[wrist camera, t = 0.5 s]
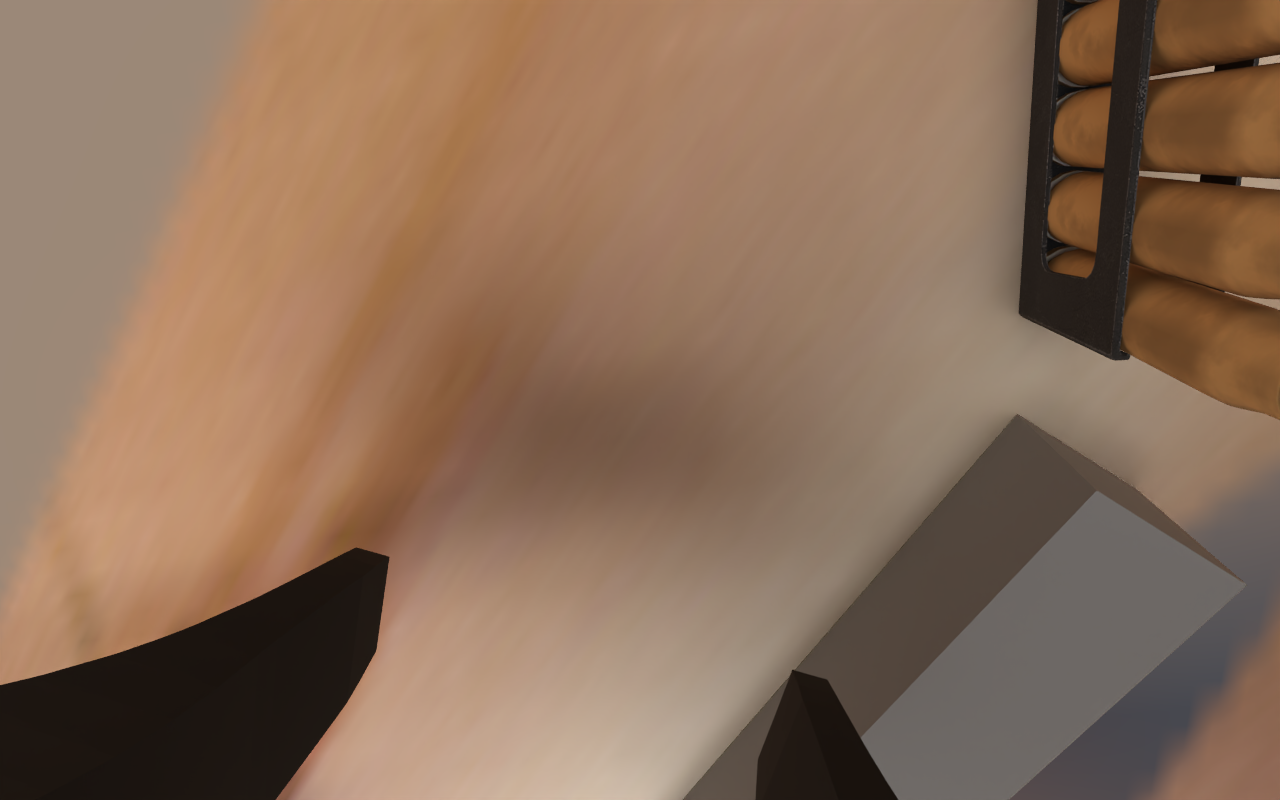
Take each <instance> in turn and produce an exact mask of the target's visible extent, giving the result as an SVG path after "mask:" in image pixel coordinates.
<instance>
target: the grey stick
mask: <svg viewBox="0 0 1280 800" xmlns="http://www.w3.org/2000/svg"><path fill="white" fill-rule="evenodd" d="M1246 586H1247V585H1246V584H1245V583H1244V582H1243V581H1242V580H1241V579H1240V578H1238V577H1237V576H1236V575H1235V574H1234V573H1233V572H1231V571H1230V570H1229V569H1228V568H1227V567H1226V566H1224V565H1223V564H1222V563H1221V562H1220V561H1219V560H1218V559H1216V558H1215V557H1214V556H1213V555H1212V554H1211V553H1209V552H1208V551H1207V550H1206V549H1205V548H1204V547H1202V546H1201V545H1200V544H1199V543H1198V542H1197V541H1196V540H1194V539H1193V538H1192V537H1191V536H1190V535H1189V534H1187V533H1186V532H1185V531H1184V530H1183V529H1182V528H1180V527H1179V526H1178V525H1177V524H1176V523H1175V522H1174V521H1172V520H1171V519H1170V518H1169V517H1168V516H1167V515H1165V514H1164V513H1163V512H1162V511H1161V510H1160V509H1158V508H1157V507H1156V506H1155V505H1154V504H1153V503H1152V502H1150V501H1149V500H1148V499H1147V498H1146V497H1145V496H1143V495H1142V494H1141V493H1140V492H1139V491H1138V490H1136V489H1135V488H1133V487H1132V486H1130V485H1129V484H1127V483H1126V482H1124V481H1122V480H1121V479H1119V478H1118V477H1116V476H1115V475H1113V474H1111V473H1110V472H1108V471H1107V470H1105V469H1103V468H1102V467H1100V466H1099V465H1097V464H1096V463H1094V462H1092V461H1091V460H1089V459H1088V458H1086V457H1084V456H1083V455H1081V454H1080V453H1078V452H1077V451H1075V450H1073V449H1072V448H1070V447H1069V446H1067V445H1066V444H1064V443H1062V442H1061V441H1059V440H1058V439H1056V438H1054V437H1053V436H1051V435H1050V434H1048V433H1047V432H1045V431H1043V430H1042V429H1040V428H1039V427H1037V426H1035V425H1034V424H1032V423H1031V422H1029V421H1028V420H1026V419H1024V418H1023V417H1021V416H1020V415H1018V414H1017V415H1016V416H1015V417H1014V418H1013V420H1012V421H1011V422H1010V423H1009V424H1008V425H1007V426H1006V428H1005V429H1004V430H1003V431H1002V432H1001V433H1000V435H999V436H998V437H997V438H996V439H995V440H994V441H993V443H992V444H991V445H990V446H989V447H988V448H987V450H986V451H985V452H984V453H983V454H982V455H981V456H980V458H979V459H978V460H977V461H976V462H975V463H974V465H973V466H972V467H971V468H970V469H969V470H968V471H967V473H966V474H965V475H964V476H963V477H962V478H961V479H960V481H959V482H958V483H957V484H956V485H955V486H954V488H953V489H952V490H951V491H950V492H949V493H948V494H947V496H946V497H945V498H944V499H943V500H942V501H941V503H940V504H939V505H938V506H937V507H936V508H935V509H934V511H933V512H932V513H931V514H930V515H929V516H928V518H927V519H926V520H925V521H924V522H923V523H922V524H921V526H920V527H919V528H918V529H917V530H916V531H915V533H914V534H913V535H912V536H911V537H910V538H909V539H908V541H907V542H906V543H905V544H904V545H903V546H902V547H901V549H900V550H899V551H898V552H897V553H896V554H895V556H894V557H893V558H892V559H891V560H890V561H889V562H888V564H887V565H886V566H885V567H884V568H883V569H882V571H881V572H880V573H879V574H878V575H877V576H876V577H875V579H874V580H873V581H872V582H871V583H870V584H869V586H868V587H867V588H866V589H865V590H864V591H863V592H862V594H861V595H860V596H859V597H858V598H857V599H856V601H855V602H854V603H853V604H852V605H851V606H850V607H849V609H848V610H847V611H846V612H845V613H844V614H843V615H842V617H841V618H840V619H839V620H838V621H837V622H836V624H835V625H834V626H833V627H832V628H831V629H830V630H829V632H828V633H827V634H826V635H825V636H824V637H823V639H822V640H821V641H820V642H819V643H818V644H817V645H816V647H815V648H814V649H813V650H812V651H811V652H810V654H809V655H808V656H807V657H806V658H805V659H804V660H803V662H802V663H801V664H800V665H799V666H798V667H797V668H796V670H795V671H799V672H802V673H806V674H809V675H813V676H817V677H820V678H824V679H827V680H828V681H829V683H830V685H831V687H832V688H833V690H834V692H835V694H836V695H837V697H838V699H839V701H840V702H841V704H842V706H843V708H844V710H845V711H846V713H847V715H848V717H849V718H850V720H851V722H852V724H853V725H854V727H855V729H856V731H857V732H858V734H859V736H860V738H861V739H862V741H863V743H864V745H865V746H866V748H867V750H868V751H869V753H870V755H871V757H872V758H873V760H874V761H875V763H876V765H877V766H878V768H879V770H880V771H881V773H882V775H883V776H884V778H885V779H886V781H887V783H888V784H889V786H890V787H891V789H892V790H893V792H894V794H895V795H896V797H897V798H898V800H1009V799H1010V798H1011V797H1012V796H1014V795H1015V794H1016V793H1017V792H1018V791H1019V790H1020V789H1021V788H1023V787H1024V786H1025V785H1026V784H1027V783H1028V782H1029V781H1030V780H1031V779H1032V778H1034V777H1035V776H1036V775H1037V774H1038V773H1039V772H1040V771H1041V770H1043V769H1044V768H1045V767H1046V766H1047V765H1048V764H1049V763H1050V762H1051V761H1052V760H1054V759H1055V758H1056V757H1057V756H1058V755H1059V754H1060V753H1061V752H1062V751H1064V749H1066V748H1067V747H1068V746H1069V745H1070V744H1071V743H1072V742H1074V741H1075V740H1076V739H1077V738H1078V737H1079V736H1080V735H1081V734H1082V733H1083V732H1085V731H1086V730H1087V729H1088V728H1089V727H1090V726H1091V725H1092V724H1093V723H1095V722H1096V721H1097V720H1098V719H1099V718H1100V717H1101V716H1102V715H1103V714H1105V713H1106V712H1107V711H1108V710H1109V709H1110V708H1111V707H1112V706H1114V705H1115V704H1116V703H1117V702H1118V701H1119V700H1120V699H1121V698H1122V697H1123V696H1124V695H1126V694H1127V693H1128V692H1129V691H1130V690H1131V689H1132V688H1133V687H1135V686H1136V685H1137V684H1138V683H1139V682H1140V681H1141V680H1142V679H1144V678H1145V677H1146V676H1147V675H1148V674H1149V673H1150V672H1151V671H1152V670H1154V669H1155V668H1156V667H1157V666H1158V665H1159V664H1160V663H1161V662H1162V661H1163V660H1165V659H1166V658H1167V657H1168V656H1169V655H1170V654H1171V653H1172V652H1173V651H1175V650H1176V649H1177V648H1178V647H1179V646H1180V645H1181V644H1182V643H1183V642H1185V641H1186V640H1187V639H1188V638H1189V637H1190V636H1191V635H1192V634H1193V633H1194V632H1195V631H1197V629H1199V628H1200V627H1201V626H1202V625H1203V624H1204V623H1206V622H1207V621H1208V620H1209V619H1210V618H1211V617H1212V616H1213V615H1215V614H1216V613H1217V612H1218V611H1219V610H1220V609H1221V608H1222V607H1223V606H1224V605H1226V604H1227V603H1228V602H1229V601H1230V600H1231V599H1232V598H1233V597H1235V596H1236V595H1237V594H1238V593H1239V592H1240V591H1241V590H1242V589H1243V588H1244V587H1246ZM788 680H789V678H788V679H787V680H786V681H785V682H784V683H783V685H782V686H781V687H780V688H779V689H778V690H777V692H776V693H775V694H774V695H773V696H772V697H771V698H770V700H769V701H768V702H767V703H766V704H765V705H764V707H763V708H762V709H761V710H760V711H759V712H758V713H757V715H756V716H755V717H754V718H753V719H752V720H751V722H750V723H749V724H748V725H747V726H746V727H745V728H744V730H743V731H742V732H741V733H740V734H739V735H738V736H737V738H736V739H735V740H734V741H733V742H732V743H731V745H730V746H729V747H728V748H727V749H726V750H725V751H724V753H723V754H722V755H721V756H720V757H719V758H718V760H717V761H716V762H715V763H714V764H713V765H712V766H711V768H710V769H709V770H708V771H707V772H706V773H705V775H704V776H703V777H702V778H701V779H700V780H699V781H698V783H697V784H696V785H695V786H694V787H693V788H692V790H691V791H690V792H689V793H688V794H687V795H686V796H685V798H684V799H683V800H755V799H756V780H757V763H758V757H759V755H760V752H761V750H762V747H763V744H764V742H765V739H766V737H767V734H768V732H769V729H770V726H771V724H772V721H773V719H774V716H775V714H776V711H777V708H778V706H779V703H780V701H781V698H782V695H783V693H784V690H785V688H786V685H787V683H788Z"/></svg>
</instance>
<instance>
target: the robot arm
mask: <svg viewBox="0 0 1280 800" xmlns="http://www.w3.org/2000/svg"><path fill="white" fill-rule="evenodd" d="M388 563H389V557H388V556H385V555H381V554H378V553H374V552H370V551H367V550H363V549H360V548H354V549H352V550H350V551H348V552H346V553H344V554H342V555H340V556H338V557H336V558H334V559H332V560H330V561H328V562H326V563H324V564H322V565H321V566H319V567H317V568H315V569H313V570H311V571H309V572H307V573H305V574H303V575H301V576H299V577H297V578H295V579H293V580H291V581H289V582H287V583H285V584H283V585H281V586H279V587H277V588H275V589H273V590H271V591H269V592H267V593H265V594H263V595H261V596H259V597H257V598H255V599H253V600H251V601H248V602H246V603H244V604H242V605H239V606H237V607H235V608H233V609H230V610H228V611H226V612H223V613H221V614H219V615H217V616H214V617H212V618H210V619H208V620H205V621H203V622H201V623H199V624H196V625H194V626H191V627H189V628H186V629H184V630H181V631H179V632H176V633H174V634H171V635H168V636H166V637H163V638H160V639H157V640H155V641H152V642H149V643H146V644H143V645H140V646H138V647H135V648H132V649H129V650H126V651H123V652H120V653H117V654H114V655H111V656H107V657H104V658H100V659H97V660H93V661H90V662H86V663H83V664H79V665H76V666H72V667H69V668H65V669H62V670H59V671H55V672H52V673H48V674H45V675H41V676H37V677H33V678H29V679H25V680H20V681H16V682H12V683H8V684H4V685H0V800H276V798H277V797H278V796H279V794H280V793H281V792H282V790H283V789H284V788H285V786H286V785H287V784H288V782H289V781H290V780H291V778H292V777H293V776H294V774H295V773H296V771H297V770H298V769H299V767H300V766H301V765H302V763H303V762H304V761H305V759H306V758H307V757H308V755H309V754H310V753H311V751H312V750H313V749H314V747H315V746H316V745H317V743H318V742H319V740H320V739H321V738H322V736H323V735H324V734H325V732H326V731H327V730H328V728H329V727H330V725H331V724H332V723H333V721H334V720H335V719H336V717H337V716H338V714H339V713H340V712H341V710H342V709H343V707H344V706H345V705H346V703H347V702H348V700H349V698H350V697H351V695H352V693H353V691H354V690H355V688H356V686H357V685H358V683H359V681H360V679H361V678H362V676H363V674H364V672H365V670H366V668H367V667H368V665H369V663H370V661H371V659H372V658H373V656H374V654H375V652H376V649H377V642H378V635H379V627H380V620H381V613H382V606H383V599H384V592H385V585H386V577H387V570H388ZM755 800H898V798H897V797H896V795H895V794H894V792H893V790H892V789H891V787H890V786H889V784H888V783H887V781H886V779H885V778H884V776H883V775H882V773H881V771H880V770H879V768H878V766H877V765H876V763H875V761H874V760H873V758H872V757H871V755H870V753H869V751H868V750H867V748H866V746H865V745H864V743H863V741H862V739H861V738H860V736H859V734H858V732H857V731H856V729H855V727H854V725H853V724H852V722H851V720H850V718H849V717H848V715H847V713H846V711H845V710H844V708H843V706H842V704H841V702H840V701H839V699H838V697H837V695H836V694H835V692H834V690H833V688H832V687H831V685H830V683H829V681H828V680H827V679H824V678H820V677H817V676H813V675H809V674H806V673H802V672H799V671H795V670H792V672H791V675H790V677H789V680H788V683H787V685H786V688H785V690H784V693H783V695H782V698H781V701H780V703H779V706H778V708H777V711H776V714H775V716H774V719H773V721H772V724H771V726H770V729H769V732H768V734H767V737H766V739H765V742H764V744H763V747H762V750H761V752H760V755H759V757H758V763H757V780H756V799H755Z"/></svg>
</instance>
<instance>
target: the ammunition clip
mask: <svg viewBox="0 0 1280 800" xmlns="http://www.w3.org/2000/svg"><path fill="white" fill-rule="evenodd" d="M1274 55H1280V0H1038V6H1037V22H1036V38H1035V55H1034V71H1033V88H1032V104H1031V120H1030V137H1029V153H1028V170H1027V186H1026V203H1025V219H1024V235H1023V252H1022V268H1021V285H1020V301H1019V314H1020V315H1021V316H1022V317H1024V318H1026V319H1028V320H1030V321H1032V322H1034V323H1036V324H1038V325H1041V326H1043V327H1045V328H1047V329H1049V330H1051V331H1053V332H1055V333H1057V334H1059V335H1061V336H1064V337H1066V338H1068V339H1070V340H1072V341H1074V342H1076V343H1078V344H1080V345H1082V346H1084V347H1087V348H1089V349H1091V350H1093V351H1095V352H1097V353H1099V354H1101V355H1103V356H1105V357H1107V358H1109V359H1112V360H1128V359H1129V358H1130V355H1132V356H1134V357H1136V358H1137V359H1139V360H1141V361H1143V362H1145V363H1147V364H1149V365H1151V366H1153V367H1155V368H1156V369H1158V370H1160V371H1162V372H1164V373H1166V374H1168V375H1170V376H1172V377H1174V378H1175V379H1177V380H1179V381H1181V382H1183V383H1185V384H1187V385H1189V386H1191V387H1193V388H1195V389H1196V390H1198V391H1200V392H1202V393H1204V394H1206V395H1208V396H1210V397H1212V398H1214V399H1216V400H1218V401H1220V402H1223V403H1225V404H1227V405H1230V406H1233V407H1237V408H1241V409H1246V410H1250V411H1255V412H1260V413H1264V414H1267V415H1269V416H1272V417H1274V418H1276V419H1279V420H1280V310H1277V309H1275V308H1272V307H1268V306H1265V305H1262V304H1259V303H1256V302H1253V301H1250V300H1247V299H1243V298H1240V297H1237V296H1234V295H1231V294H1228V293H1225V291H1226V292H1229V293H1233V294H1236V295H1240V296H1245V297H1252V298H1264V299H1280V190H1275V189H1265V188H1255V187H1245V186H1240V185H1241V178H1242V177H1254V178H1270V179H1280V63H1274V64H1267V65H1259V66H1258V64H1259V58H1262V57H1268V56H1274ZM1209 66H1215V69H1214V72H1208V73H1200V74H1193V75H1185V76H1178V77H1171V78H1163V79H1156V80H1149V76H1155V75H1161V74H1167V73H1173V72H1179V71H1185V70H1191V69H1197V68H1203V67H1209ZM1139 171H1154V172H1171V173H1187V174H1201V176H1200V182H1193V181H1183V180H1173V179H1163V178H1152V177H1142V176H1139ZM1121 350H1122V351H1121ZM1123 351H1124V352H1123Z"/></svg>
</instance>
